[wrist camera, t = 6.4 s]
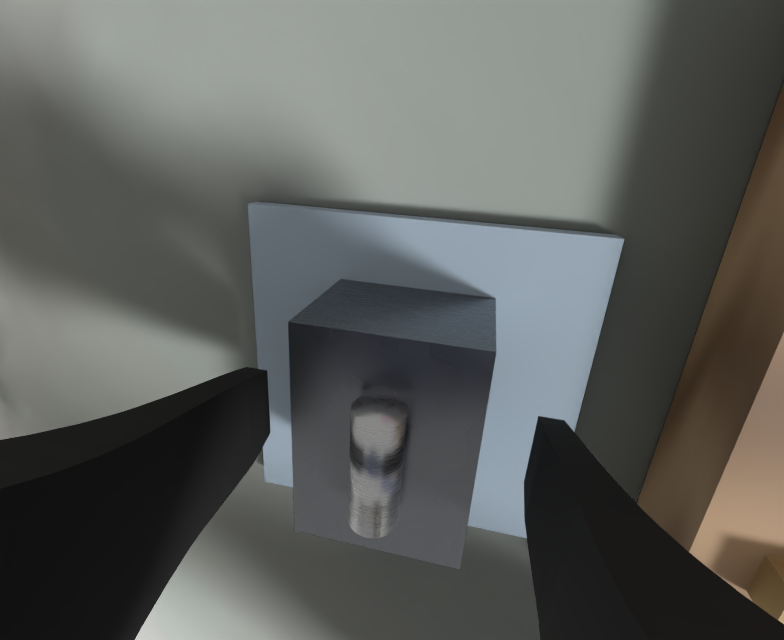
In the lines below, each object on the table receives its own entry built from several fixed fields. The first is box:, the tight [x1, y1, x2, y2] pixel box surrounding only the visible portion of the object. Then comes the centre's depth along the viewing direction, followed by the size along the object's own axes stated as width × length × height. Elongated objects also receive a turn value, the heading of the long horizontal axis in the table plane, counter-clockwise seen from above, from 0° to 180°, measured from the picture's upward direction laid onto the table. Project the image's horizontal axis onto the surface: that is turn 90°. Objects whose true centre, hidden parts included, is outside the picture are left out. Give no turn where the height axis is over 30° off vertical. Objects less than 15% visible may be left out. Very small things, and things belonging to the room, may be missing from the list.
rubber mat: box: [248, 202, 624, 538], centre depth 14 cm, size 10×10×1 cm
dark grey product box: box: [288, 279, 496, 569], centre depth 11 cm, size 6×4×4 cm
